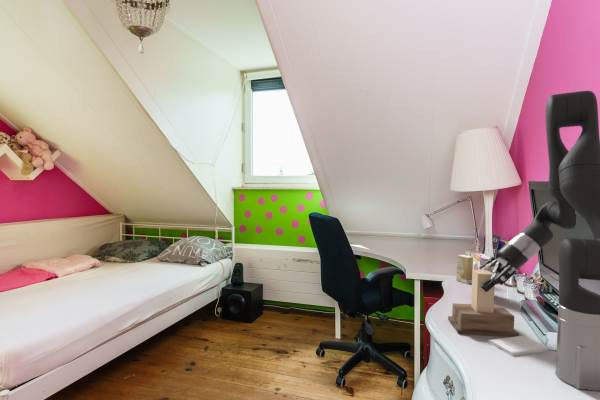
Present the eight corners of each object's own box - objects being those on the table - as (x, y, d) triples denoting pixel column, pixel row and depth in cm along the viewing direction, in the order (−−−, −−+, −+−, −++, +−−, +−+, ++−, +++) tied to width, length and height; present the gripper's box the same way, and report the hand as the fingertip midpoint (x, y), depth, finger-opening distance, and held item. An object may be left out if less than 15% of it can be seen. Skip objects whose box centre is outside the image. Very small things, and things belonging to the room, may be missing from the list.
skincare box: (455, 280, 168) (456, 254, 167) (462, 279, 170) (463, 254, 169) (467, 284, 162) (468, 257, 161) (474, 283, 164) (474, 256, 163)
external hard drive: (548, 353, 98) (511, 358, 95) (523, 340, 106) (488, 344, 103) (548, 347, 98) (512, 352, 95) (523, 334, 106) (488, 338, 103)
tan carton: (493, 312, 110) (495, 274, 109) (476, 311, 111) (477, 273, 110) (487, 307, 115) (488, 270, 114) (471, 306, 116) (472, 269, 115)
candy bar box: (471, 291, 151) (472, 253, 150) (484, 292, 150) (485, 253, 149) (478, 300, 140) (480, 258, 139) (492, 301, 139) (494, 259, 138)
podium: (518, 337, 106) (519, 317, 106) (458, 333, 109) (458, 314, 108) (502, 322, 117) (503, 304, 117) (448, 319, 120) (448, 302, 119)
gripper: (500, 238, 118) (462, 271, 120) (520, 246, 104) (477, 283, 106) (516, 254, 117) (478, 287, 119) (539, 264, 103) (496, 301, 105)
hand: (478, 285), depth 113 cm, fingers open, 8 cm apart
